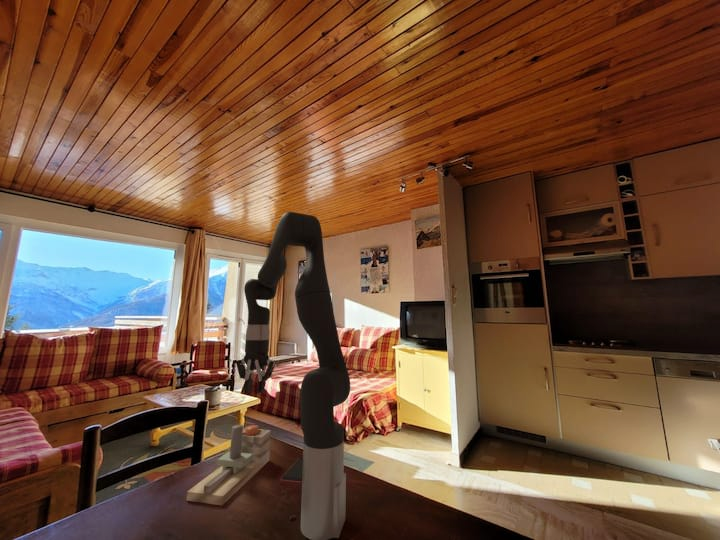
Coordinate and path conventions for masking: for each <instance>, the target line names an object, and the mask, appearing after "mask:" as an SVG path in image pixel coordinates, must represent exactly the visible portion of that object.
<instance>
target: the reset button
mask: <svg viewBox="0 0 720 540" xmlns="http://www.w3.org/2000/svg"><path fill="white" fill-rule="evenodd" d="M259 426H260V425H254V424H252V425H247V426H246V427H244V428H245V435H246V436H256V435H257V434H258V429H259Z"/></svg>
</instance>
